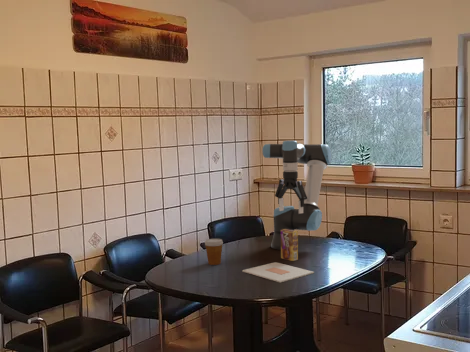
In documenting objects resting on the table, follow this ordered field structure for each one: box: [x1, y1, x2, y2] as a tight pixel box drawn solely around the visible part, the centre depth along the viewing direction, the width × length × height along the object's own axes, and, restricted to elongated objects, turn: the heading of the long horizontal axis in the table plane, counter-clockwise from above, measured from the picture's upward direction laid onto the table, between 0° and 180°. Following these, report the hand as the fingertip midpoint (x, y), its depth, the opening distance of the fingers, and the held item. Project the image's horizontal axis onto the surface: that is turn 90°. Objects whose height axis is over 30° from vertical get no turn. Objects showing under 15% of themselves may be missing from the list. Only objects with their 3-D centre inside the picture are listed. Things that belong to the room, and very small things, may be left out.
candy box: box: [280, 229, 299, 262], centre depth 285 cm, size 9×4×15 cm, turn 39°
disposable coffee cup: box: [204, 238, 224, 266], centre depth 280 cm, size 10×10×12 cm
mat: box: [242, 261, 315, 283], centre depth 261 cm, size 26×22×1 cm
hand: (291, 212), depth 283 cm, fingers open, 13 cm apart
